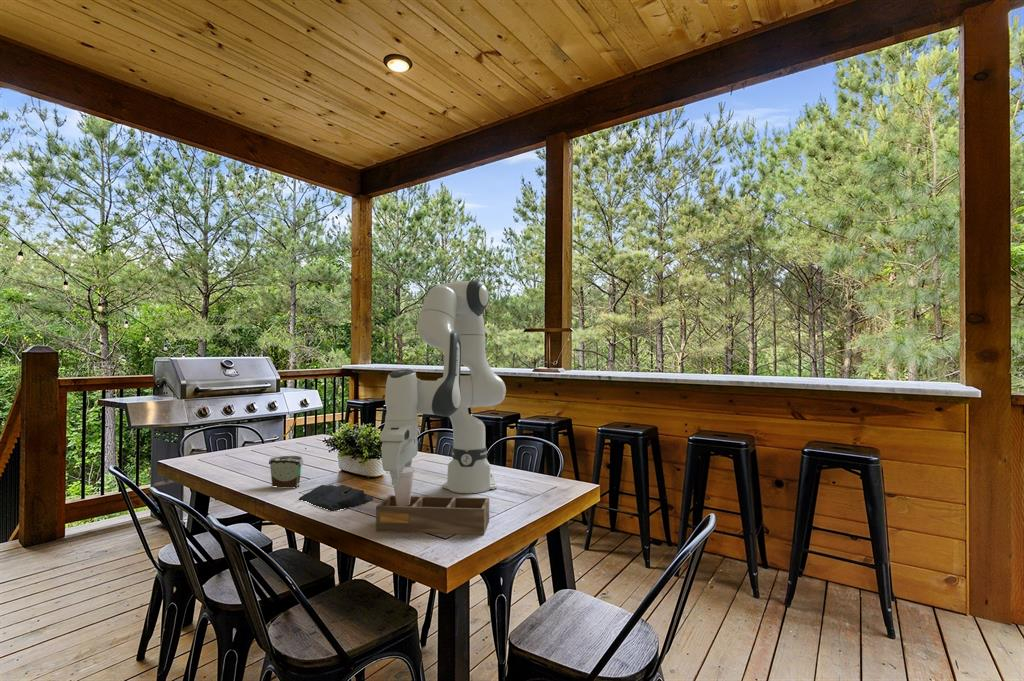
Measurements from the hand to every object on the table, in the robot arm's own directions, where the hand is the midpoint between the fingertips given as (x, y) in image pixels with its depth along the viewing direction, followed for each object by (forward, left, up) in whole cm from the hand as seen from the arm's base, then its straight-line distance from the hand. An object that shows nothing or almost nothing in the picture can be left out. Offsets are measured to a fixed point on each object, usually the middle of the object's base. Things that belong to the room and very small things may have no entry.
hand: (401, 479), depth 136 cm
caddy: (0, +9, -12) cm, 15 cm away
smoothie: (-1, 0, -7) cm, 7 cm away
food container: (-36, -52, -13) cm, 64 cm away
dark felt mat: (-20, -28, -13) cm, 37 cm away
